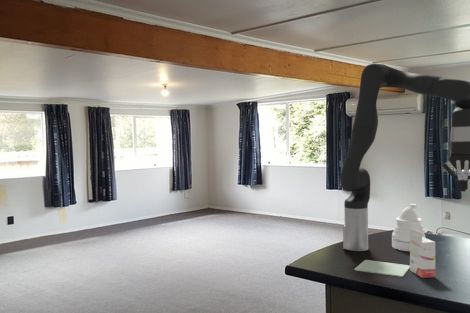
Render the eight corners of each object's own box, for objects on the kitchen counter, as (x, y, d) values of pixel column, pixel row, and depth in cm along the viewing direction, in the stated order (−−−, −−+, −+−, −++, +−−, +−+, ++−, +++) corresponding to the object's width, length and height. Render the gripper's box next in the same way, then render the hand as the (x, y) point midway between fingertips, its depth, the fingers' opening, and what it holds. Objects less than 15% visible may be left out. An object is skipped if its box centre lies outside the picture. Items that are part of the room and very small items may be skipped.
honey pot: (427, 245, 184) (427, 202, 183) (422, 252, 173) (422, 207, 173) (395, 242, 191) (395, 200, 190) (388, 249, 180) (388, 205, 179)
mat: (354, 270, 153) (354, 269, 153) (365, 260, 164) (365, 259, 164) (402, 277, 145) (402, 275, 145) (410, 266, 156) (410, 265, 156)
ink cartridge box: (436, 277, 144) (436, 232, 143) (421, 278, 143) (421, 233, 143) (423, 269, 152) (423, 227, 151) (409, 270, 152) (409, 228, 151)
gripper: (439, 140, 150) (440, 191, 151) (484, 140, 143) (484, 193, 144) (442, 140, 156) (443, 189, 157) (485, 139, 149) (485, 190, 150)
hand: (463, 191), depth 150 cm, fingers closed
